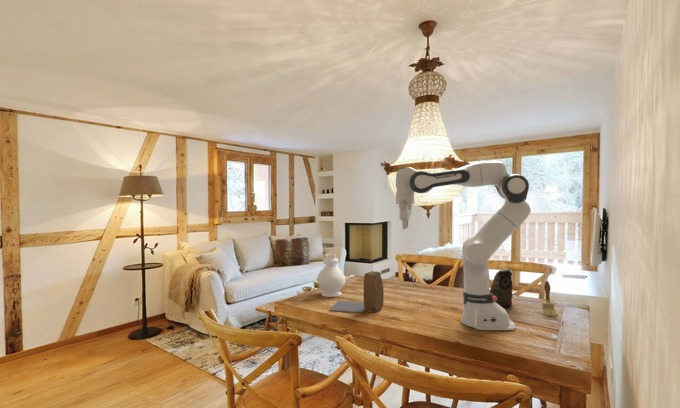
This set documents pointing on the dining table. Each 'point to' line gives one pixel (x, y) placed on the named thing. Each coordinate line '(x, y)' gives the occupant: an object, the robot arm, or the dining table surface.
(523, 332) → the dining table surface
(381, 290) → the block
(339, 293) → the decorative vase
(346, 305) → the mat
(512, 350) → the dining table surface
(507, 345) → the dining table surface
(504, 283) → the owl
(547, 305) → the hand bell
